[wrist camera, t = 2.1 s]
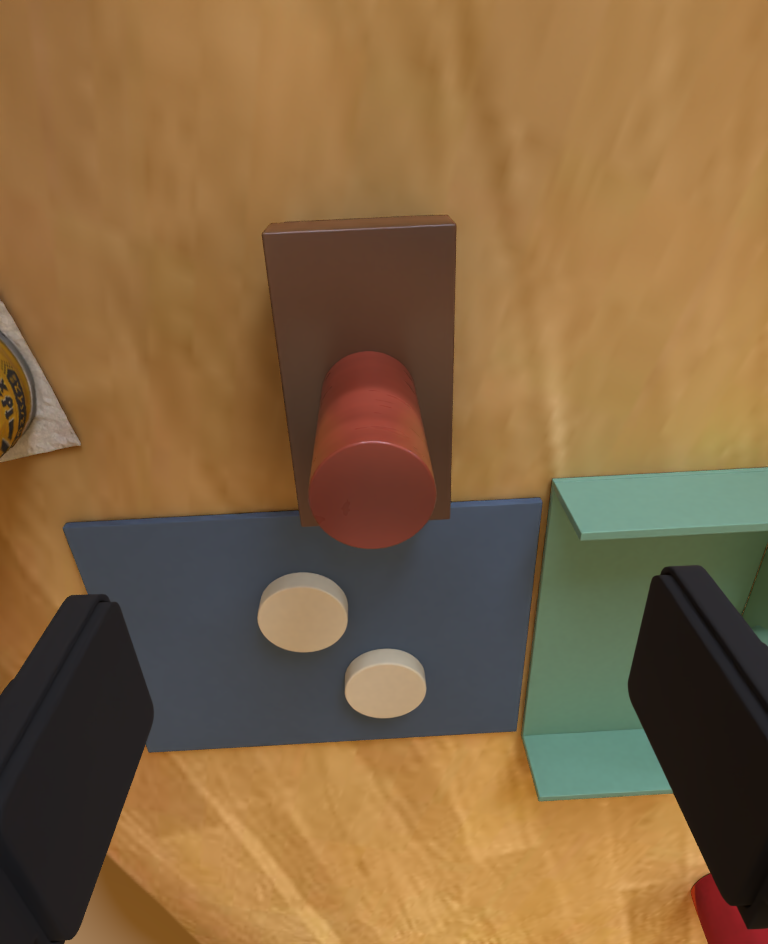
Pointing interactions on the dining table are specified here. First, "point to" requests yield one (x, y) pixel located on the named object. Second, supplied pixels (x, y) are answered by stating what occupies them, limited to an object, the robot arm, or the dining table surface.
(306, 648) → the crumb
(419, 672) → the crumb
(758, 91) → the dining table surface
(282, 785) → the dining table surface
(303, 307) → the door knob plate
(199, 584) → the scrub mat
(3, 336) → the condiment
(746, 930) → the paper cup
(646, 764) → the dustpan
